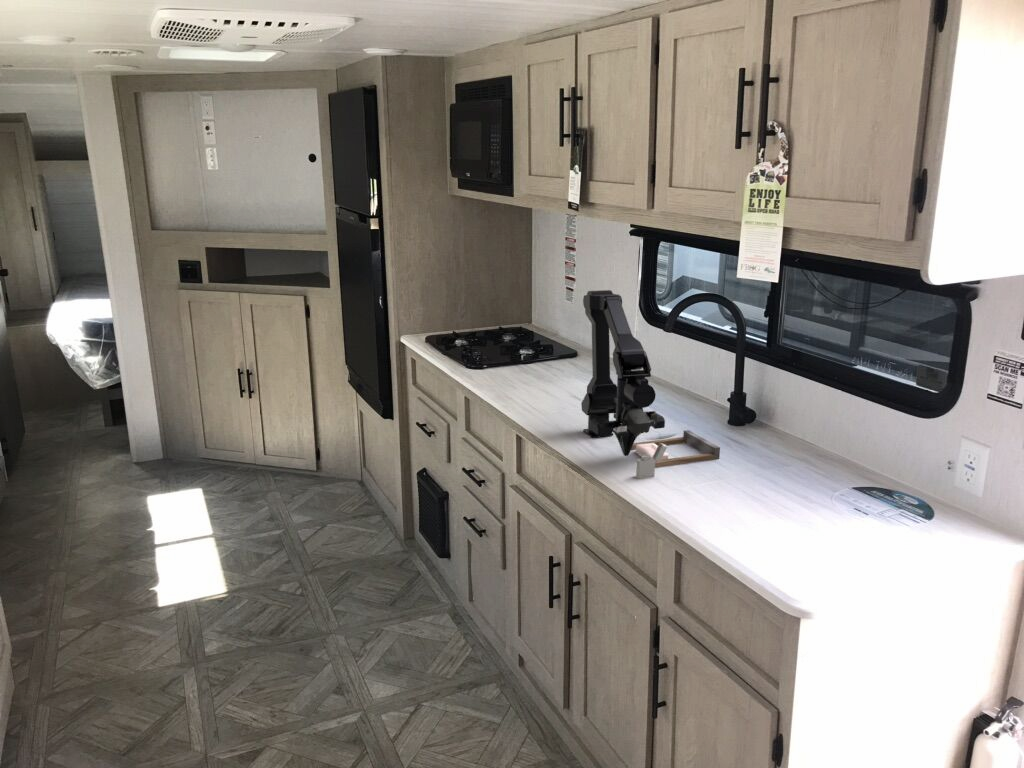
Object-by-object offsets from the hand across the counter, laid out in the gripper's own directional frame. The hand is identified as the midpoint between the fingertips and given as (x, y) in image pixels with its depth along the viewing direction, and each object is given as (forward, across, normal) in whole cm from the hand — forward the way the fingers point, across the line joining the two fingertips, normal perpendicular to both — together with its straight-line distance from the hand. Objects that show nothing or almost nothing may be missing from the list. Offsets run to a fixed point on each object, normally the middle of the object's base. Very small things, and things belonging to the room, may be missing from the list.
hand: (625, 455), depth 218 cm
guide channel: (+1, +12, 0) cm, 13 cm away
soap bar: (+2, +8, 0) cm, 8 cm away
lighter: (+1, 0, -12) cm, 12 cm away
